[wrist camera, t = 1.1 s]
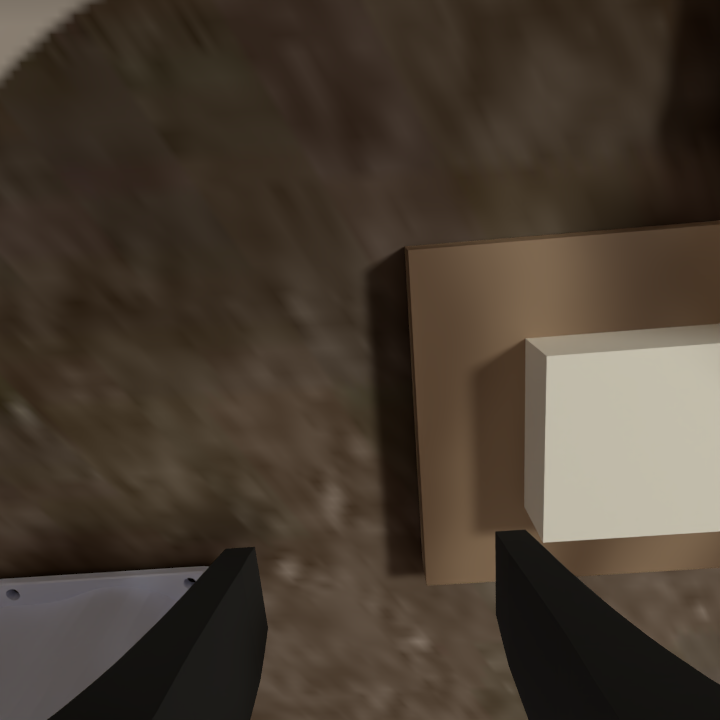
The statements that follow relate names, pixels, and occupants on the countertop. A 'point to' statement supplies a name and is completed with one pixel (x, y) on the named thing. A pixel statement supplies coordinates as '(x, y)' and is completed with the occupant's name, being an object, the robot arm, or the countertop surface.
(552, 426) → the cream tile
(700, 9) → the countertop surface
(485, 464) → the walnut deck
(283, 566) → the countertop surface
